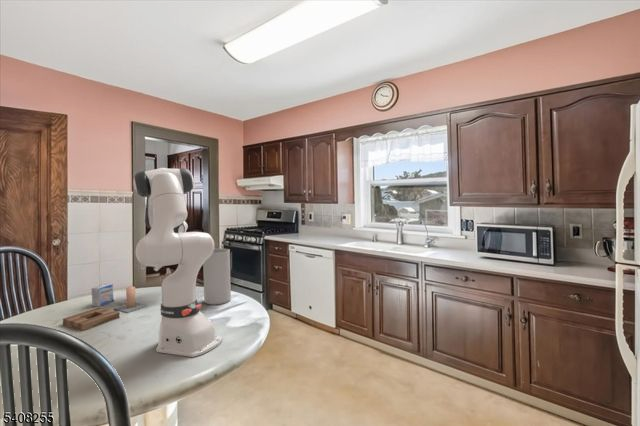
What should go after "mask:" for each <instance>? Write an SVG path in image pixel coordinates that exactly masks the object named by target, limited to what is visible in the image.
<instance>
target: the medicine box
mask: <svg viewBox="0 0 640 426" xmlns="http://www.w3.org/2000/svg"><path fill="white" fill-rule="evenodd" d="M114 298H115V297H114V284H113V283H105V284H101V285H98V286H95V287H93V288H91V305H92V306H93V307H103V306H104V305H107V304H110V303H112V302H114V300H115V299H114Z"/></svg>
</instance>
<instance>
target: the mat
mask: <svg viewBox="0 0 640 426" xmlns="http://www.w3.org/2000/svg"><path fill="white" fill-rule="evenodd" d="M148 306H149V304H146V303H142V302H138V301H136V306H135V307H133V308H127V303H126V304H123V305H120V306H118V307H114V308H113V311H117V310H118V311H117V312H123V313H126V314H130V313H132V312H135V311H137V309H138V310H141V309H143V307H144V308H146V307H148ZM140 308H141V309H140ZM134 310H135V311H134Z"/></svg>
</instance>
